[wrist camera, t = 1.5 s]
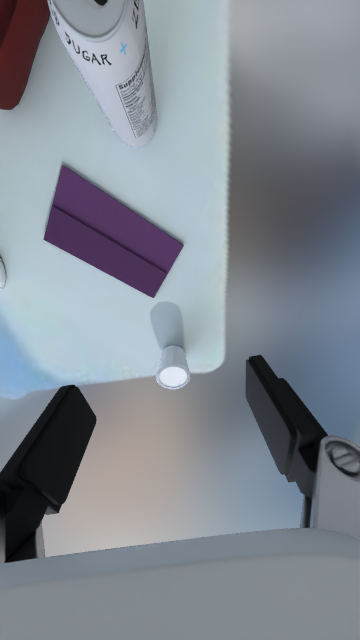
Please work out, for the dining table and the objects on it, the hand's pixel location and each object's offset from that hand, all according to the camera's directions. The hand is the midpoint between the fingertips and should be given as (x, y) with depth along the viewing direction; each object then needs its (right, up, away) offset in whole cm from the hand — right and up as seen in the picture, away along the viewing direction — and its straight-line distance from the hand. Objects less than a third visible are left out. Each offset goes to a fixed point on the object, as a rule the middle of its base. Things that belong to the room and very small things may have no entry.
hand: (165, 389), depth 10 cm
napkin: (-10, +17, +20) cm, 28 cm away
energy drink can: (-5, +30, +13) cm, 33 cm away
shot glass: (-1, -4, +31) cm, 32 cm away
